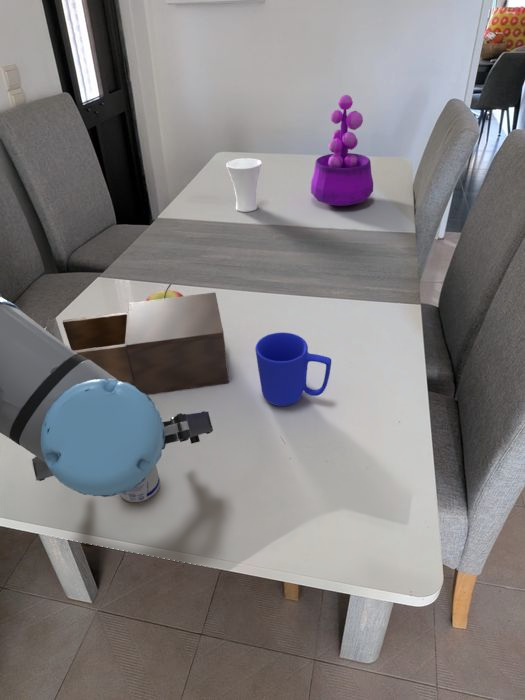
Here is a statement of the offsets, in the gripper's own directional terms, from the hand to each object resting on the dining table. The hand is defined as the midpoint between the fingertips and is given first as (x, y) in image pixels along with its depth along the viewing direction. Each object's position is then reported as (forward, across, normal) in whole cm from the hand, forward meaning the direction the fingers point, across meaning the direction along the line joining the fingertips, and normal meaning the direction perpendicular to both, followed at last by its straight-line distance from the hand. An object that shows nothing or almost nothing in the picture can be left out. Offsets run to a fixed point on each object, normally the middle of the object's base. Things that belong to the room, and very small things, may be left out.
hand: (129, 445), depth 67 cm
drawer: (+25, -6, +15) cm, 30 cm away
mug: (+13, +27, +1) cm, 30 cm away
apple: (+33, +12, +21) cm, 41 cm away
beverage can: (+6, 0, -6) cm, 8 cm away
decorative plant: (+69, +75, +57) cm, 116 cm away
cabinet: (+24, +11, +12) cm, 29 cm away
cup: (+74, +47, +62) cm, 108 cm away
